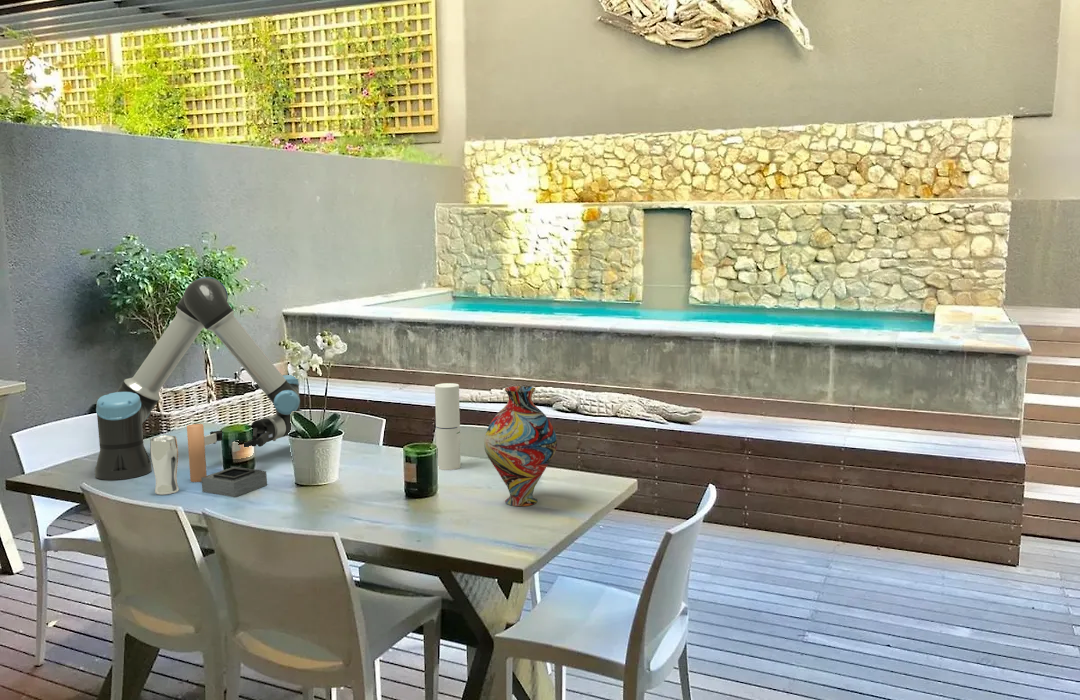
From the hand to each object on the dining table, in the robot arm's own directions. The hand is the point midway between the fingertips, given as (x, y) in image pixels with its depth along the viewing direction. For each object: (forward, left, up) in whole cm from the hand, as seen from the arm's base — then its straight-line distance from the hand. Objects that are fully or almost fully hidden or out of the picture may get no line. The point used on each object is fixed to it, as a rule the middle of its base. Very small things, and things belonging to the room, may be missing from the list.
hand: (215, 444), depth 248 cm
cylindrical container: (+58, +34, -9) cm, 68 cm away
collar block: (+15, -9, -9) cm, 20 cm away
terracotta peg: (-1, -7, -9) cm, 11 cm away
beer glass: (0, -18, -9) cm, 21 cm away
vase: (+93, +13, -9) cm, 95 cm away
